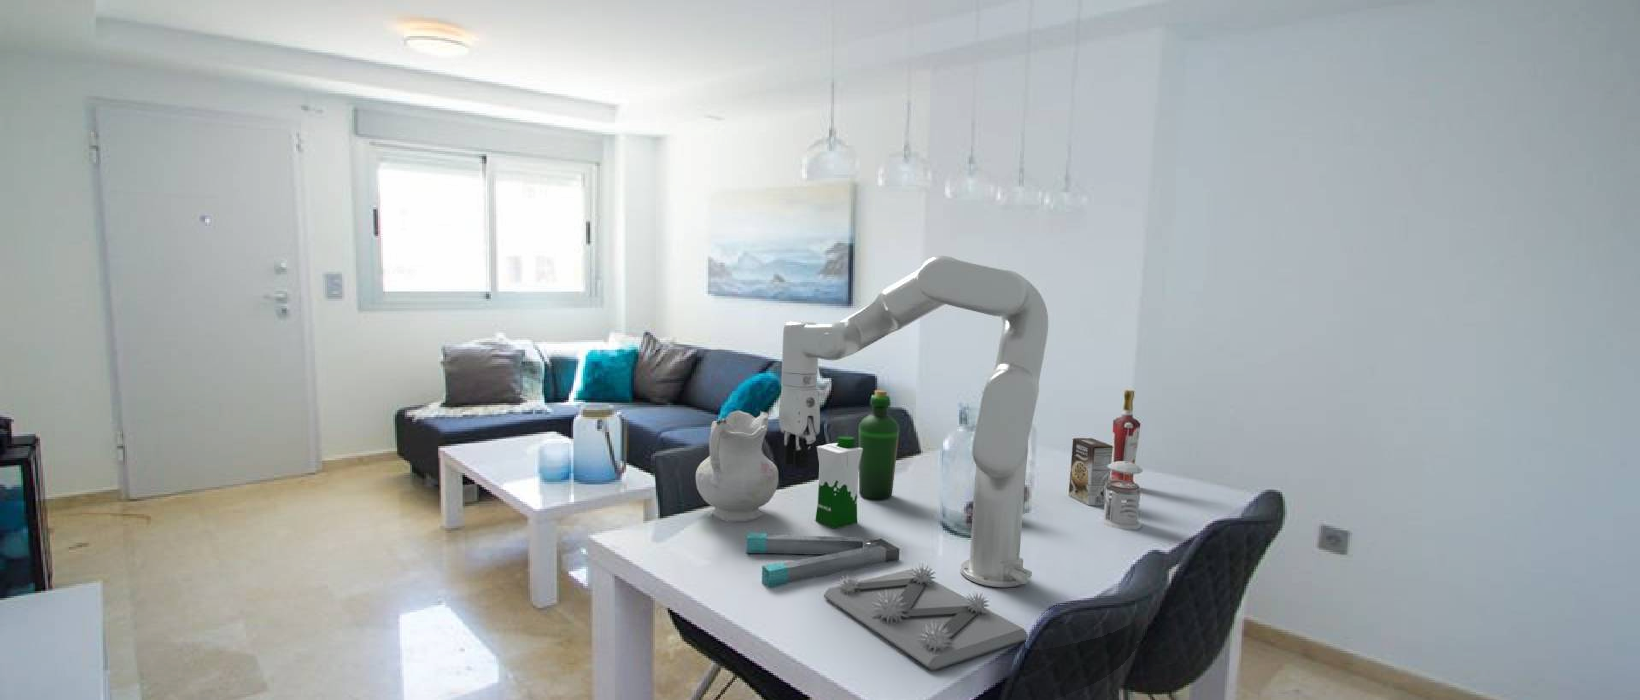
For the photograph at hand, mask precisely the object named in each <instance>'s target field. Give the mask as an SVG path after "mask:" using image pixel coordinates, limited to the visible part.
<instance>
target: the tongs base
mask: <svg viewBox="0 0 1640 700" xmlns="http://www.w3.org/2000/svg"><path fill="white" fill-rule="evenodd" d="M870 541H874V542H876V543H877V547H872V548H868V547H865V546H863V548H859V549H854V550H849V551H843V552H838V553H833V554H822V555H818V556H813V557H807V558H803V559H797V560H793V561H787V562H775V563H770V564H765V565H762V566H761V567H762V568H761V583H762V584H763V585H765V586H766V587H767V588H769V589H770V588H775V587H781V586H785V585H788V584H790V583H795V582H801V581H806V580H811V579H815V578H819V577H825V576H828V575H829V576H830V575H833V574H838V573H842V572H848V571H853V570H858V569H861V568H865V567H870V566H871V567H872V566H875V565H880V564H886V563H890V562H895V561H899V560H900V548H899V547H898V546H895V545H894V544H892V543H890V542H889V541H887V540H885V539H883V538H877V539H870Z"/></svg>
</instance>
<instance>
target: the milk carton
mask: <svg viewBox="0 0 1640 700" xmlns="http://www.w3.org/2000/svg"><path fill="white" fill-rule="evenodd" d="M855 442H856V437H854V436H853V435H839V436H838V437H837V442H833V443H826V444H824V445H818V446H816V451H817V457H818V458H817V459H818V464H819V468H818V494H817V503H816V504H817V505H816V506H817V507H816V512H815V522H817V523H819V524H822V525H824V526H827V527H830V528H832V529H834V530H836V529H841V528H844V527H847V526H848V527H849V526H851V525H855V524H858V491H859V490H858V489H859V463H860V459H861V454H862V450H863V449H862V448H859V446H856V445H855V444H856V443H855Z"/></svg>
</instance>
